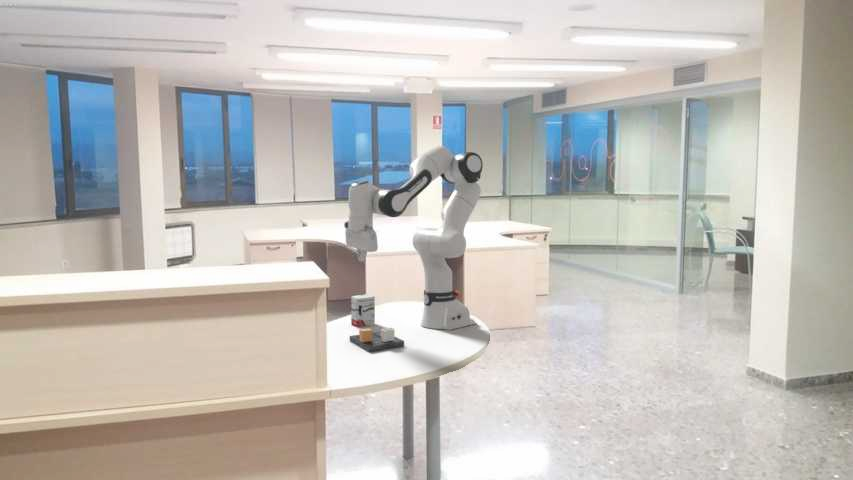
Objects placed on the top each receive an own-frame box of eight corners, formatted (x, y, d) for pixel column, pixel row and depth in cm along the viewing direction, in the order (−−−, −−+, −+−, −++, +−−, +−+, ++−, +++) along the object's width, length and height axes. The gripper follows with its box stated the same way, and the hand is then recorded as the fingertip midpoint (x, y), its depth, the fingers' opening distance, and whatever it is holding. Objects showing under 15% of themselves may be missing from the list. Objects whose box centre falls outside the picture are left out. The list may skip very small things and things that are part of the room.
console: (383, 336, 245) (383, 330, 245) (404, 346, 232) (404, 340, 231) (349, 341, 238) (349, 335, 238) (368, 352, 225) (368, 346, 224)
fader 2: (391, 338, 234) (391, 327, 233) (394, 340, 231) (394, 329, 231) (381, 340, 231) (381, 328, 231) (384, 341, 229) (384, 330, 229)
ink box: (356, 327, 258) (356, 298, 257) (351, 324, 263) (350, 296, 261) (375, 324, 263) (375, 295, 262) (369, 321, 267) (369, 293, 266)
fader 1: (369, 339, 233) (369, 327, 232) (372, 340, 231) (372, 329, 230) (359, 340, 231) (359, 329, 230) (362, 342, 229) (362, 331, 228)
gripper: (381, 226, 237) (382, 263, 238) (357, 221, 254) (358, 256, 256) (365, 227, 233) (366, 265, 235) (342, 222, 251) (343, 258, 252)
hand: (362, 260), depth 246 cm, fingers closed
